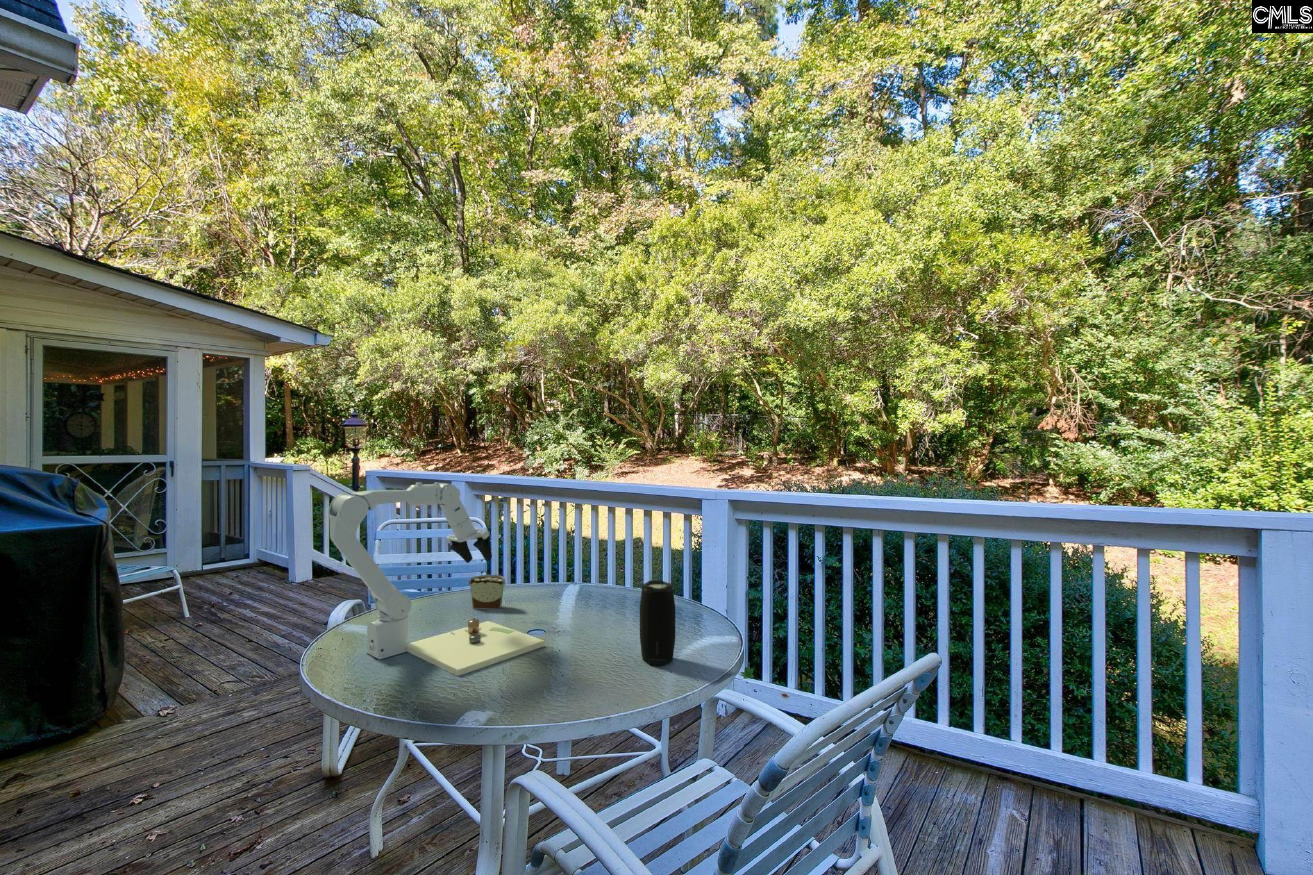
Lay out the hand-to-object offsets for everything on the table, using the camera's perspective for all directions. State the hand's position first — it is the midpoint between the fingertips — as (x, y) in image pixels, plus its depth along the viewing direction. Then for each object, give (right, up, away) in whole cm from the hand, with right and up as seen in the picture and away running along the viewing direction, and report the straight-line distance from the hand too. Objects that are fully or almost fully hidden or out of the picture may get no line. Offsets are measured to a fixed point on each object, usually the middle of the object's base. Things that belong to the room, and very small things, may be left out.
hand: (479, 559), depth 174 cm
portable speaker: (+52, -21, -24) cm, 61 cm away
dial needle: (+2, -19, -11) cm, 22 cm away
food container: (-3, -20, +23) cm, 31 cm away
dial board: (+3, -20, -15) cm, 26 cm away
